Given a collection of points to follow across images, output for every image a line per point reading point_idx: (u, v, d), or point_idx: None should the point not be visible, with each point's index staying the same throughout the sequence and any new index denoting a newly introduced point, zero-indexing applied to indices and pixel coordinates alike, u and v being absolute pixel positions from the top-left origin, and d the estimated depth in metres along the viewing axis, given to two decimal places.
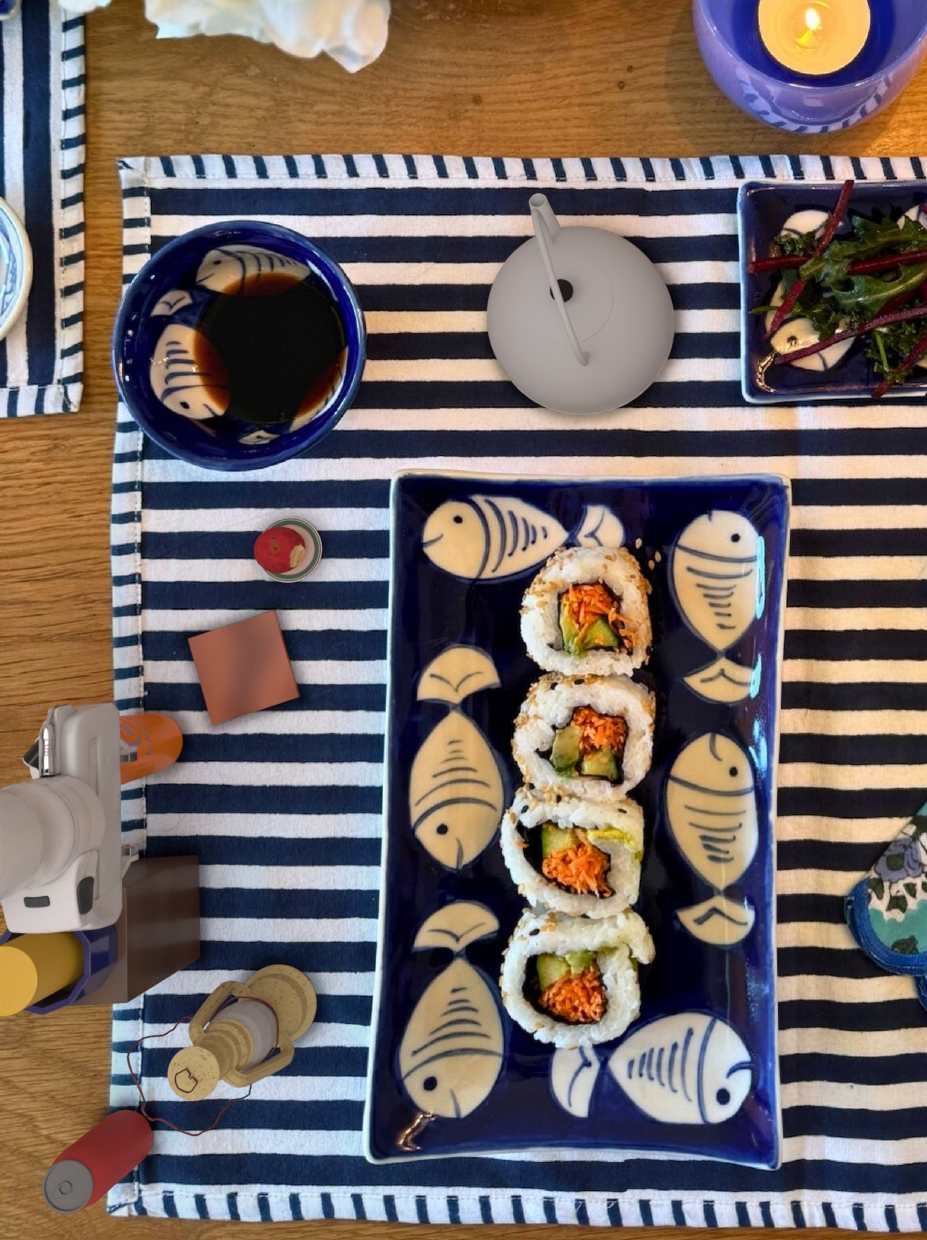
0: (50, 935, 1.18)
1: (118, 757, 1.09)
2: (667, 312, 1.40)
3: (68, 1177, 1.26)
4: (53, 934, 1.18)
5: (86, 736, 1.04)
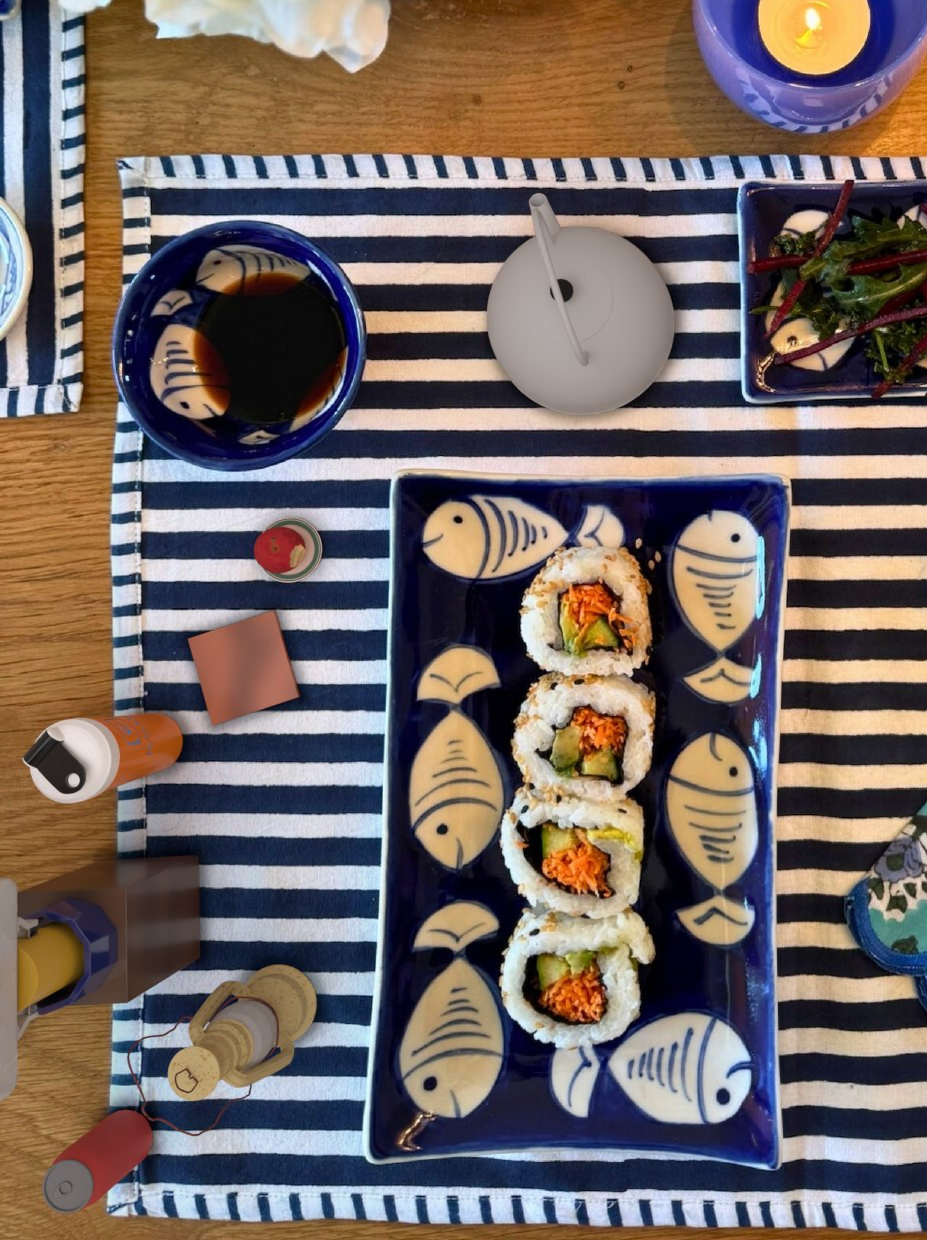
0: (50, 934, 1.18)
1: (15, 931, 1.12)
2: (667, 312, 1.40)
3: (68, 1177, 1.26)
4: (53, 934, 1.18)
5: None
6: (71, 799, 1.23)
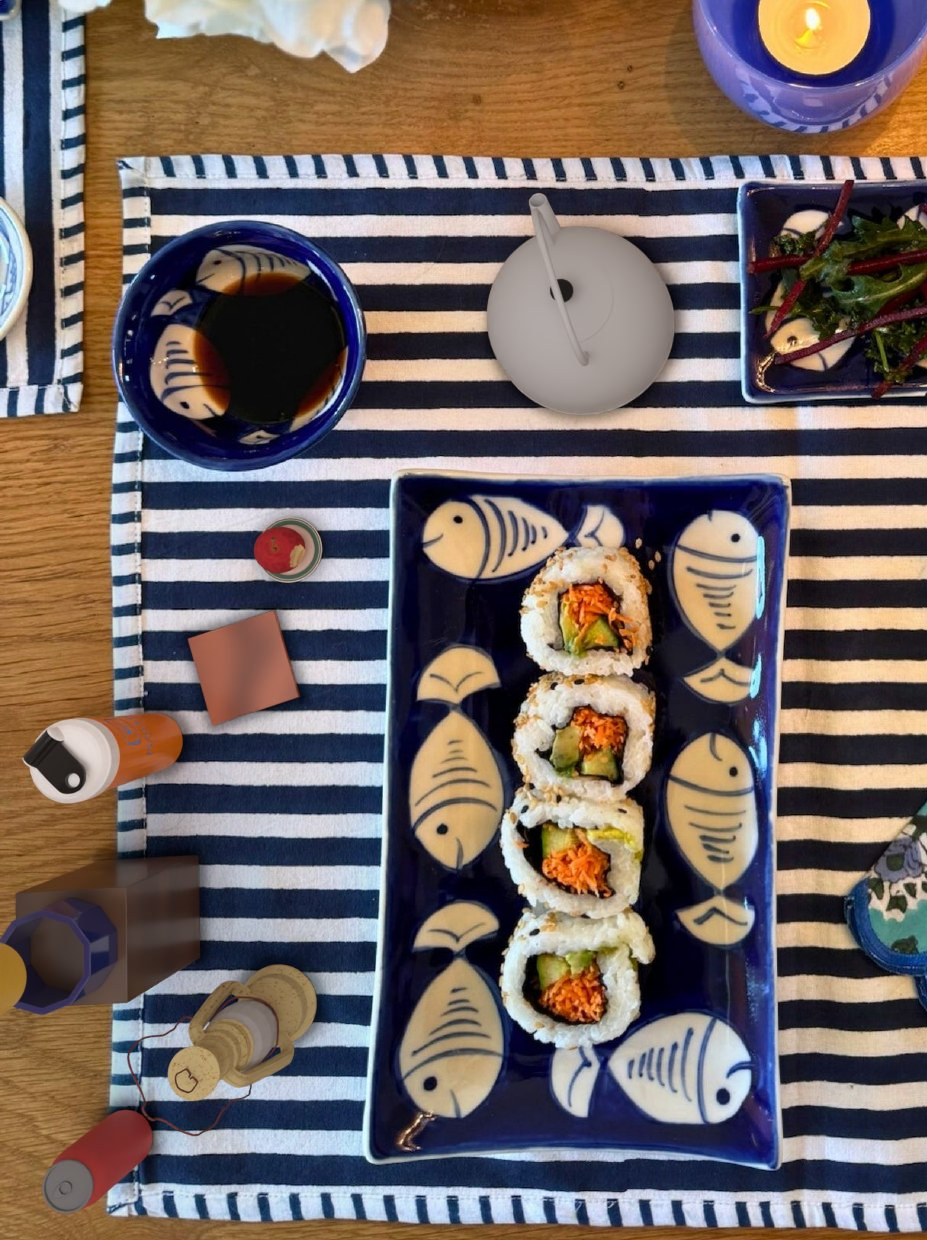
0: None
1: None
2: (667, 312, 1.40)
3: (68, 1177, 1.26)
4: None
5: None
6: (71, 799, 1.23)
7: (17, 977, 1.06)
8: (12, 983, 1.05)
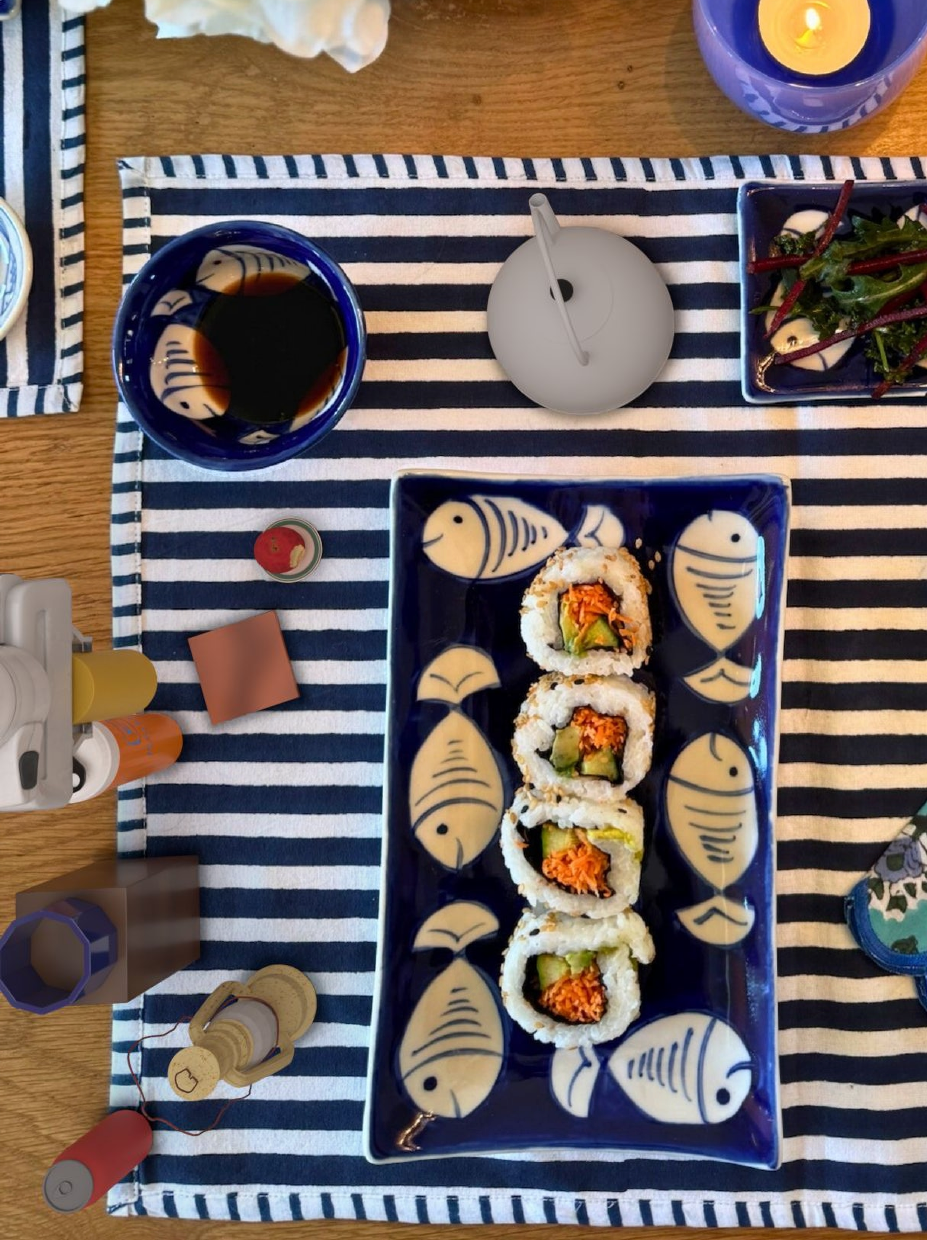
0: (105, 654, 1.09)
1: (69, 635, 1.04)
2: (667, 312, 1.40)
3: (68, 1177, 1.26)
4: (108, 654, 1.10)
5: (33, 607, 0.99)
6: (71, 799, 1.23)
7: (150, 677, 1.14)
8: (146, 680, 1.13)
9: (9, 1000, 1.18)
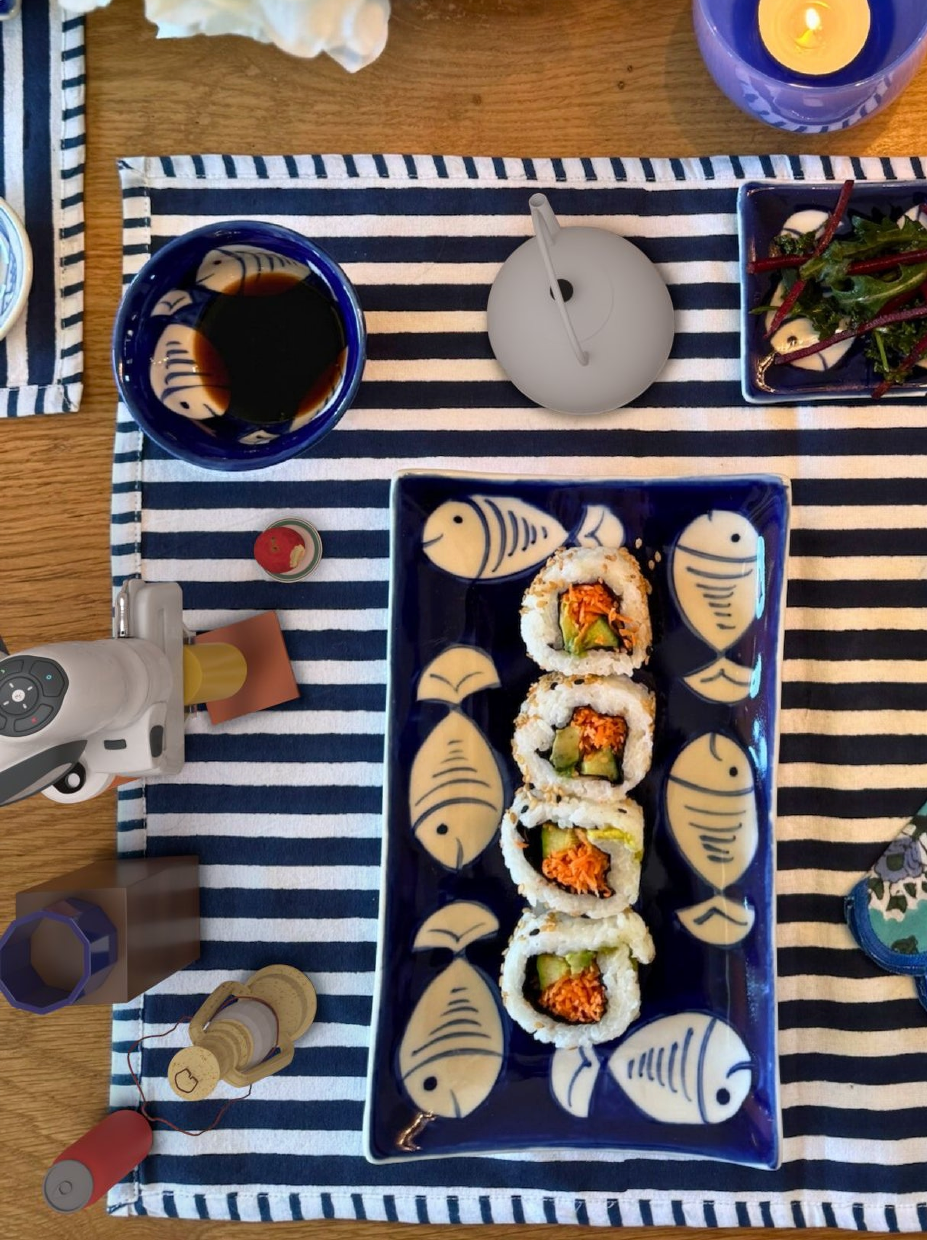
0: (206, 646, 1.29)
1: (181, 630, 1.23)
2: (667, 312, 1.40)
3: (68, 1177, 1.26)
4: (209, 646, 1.29)
5: (155, 606, 1.18)
6: (71, 799, 1.23)
7: (241, 666, 1.34)
8: (239, 669, 1.33)
9: (9, 1000, 1.18)
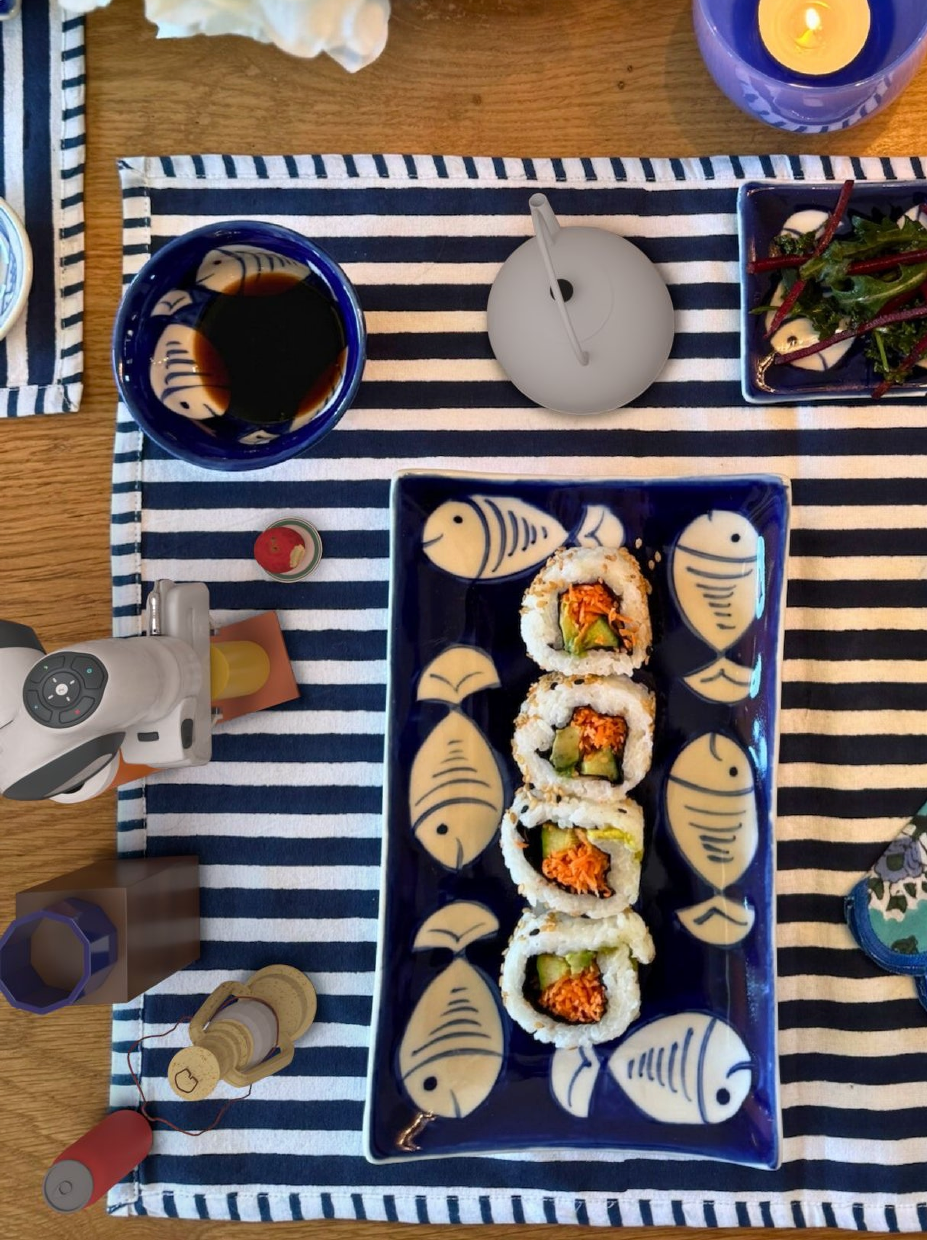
0: (232, 644, 1.35)
1: (208, 628, 1.29)
2: (667, 312, 1.40)
3: (68, 1177, 1.26)
4: (235, 645, 1.36)
5: (185, 605, 1.25)
6: (71, 799, 1.23)
7: (265, 663, 1.40)
8: (262, 666, 1.39)
9: (9, 1000, 1.18)
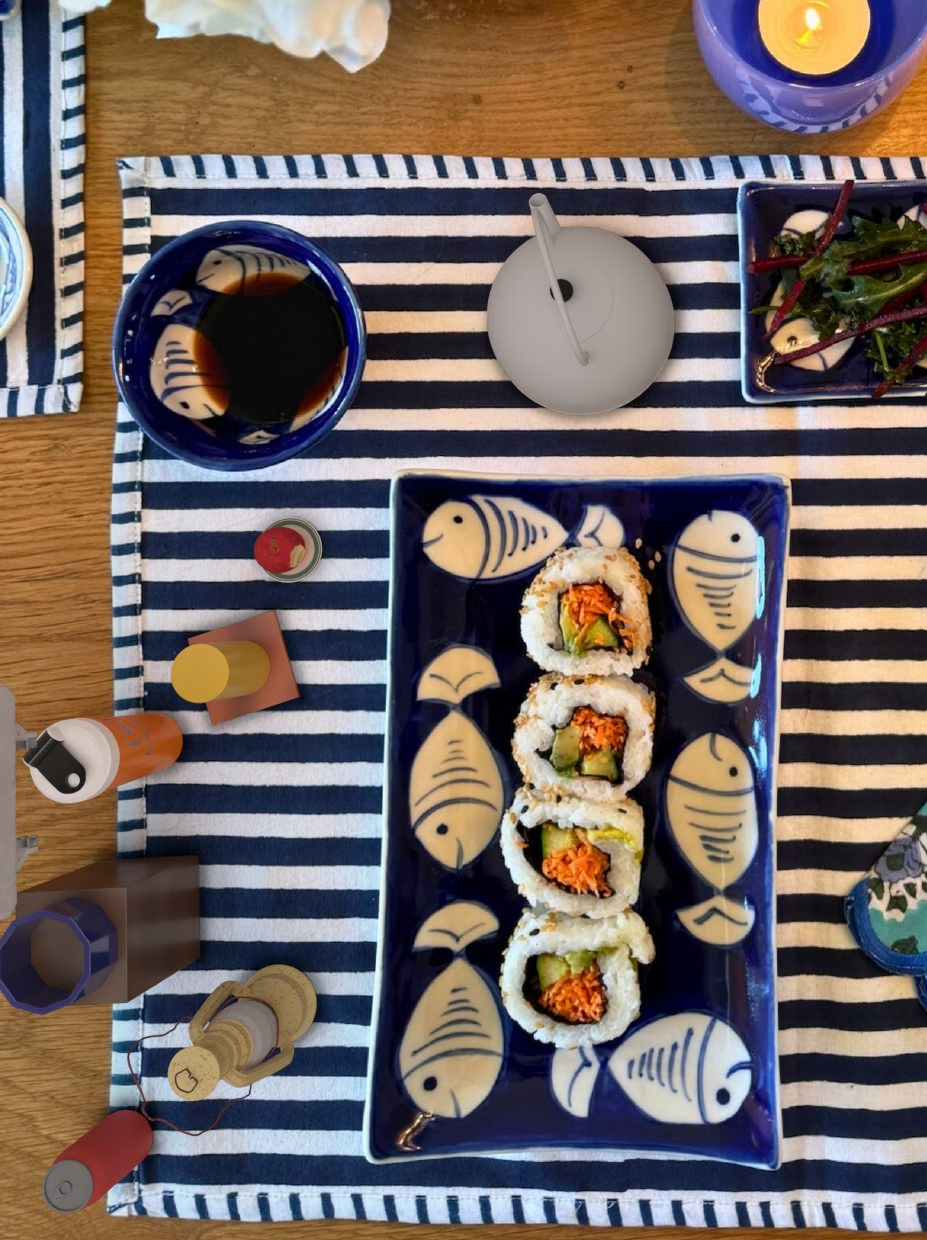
0: (232, 644, 1.35)
1: (13, 743, 1.03)
2: (667, 312, 1.40)
3: (68, 1177, 1.26)
4: (235, 645, 1.36)
5: None
6: (71, 799, 1.23)
7: (265, 663, 1.40)
8: (262, 666, 1.39)
9: (9, 1000, 1.18)
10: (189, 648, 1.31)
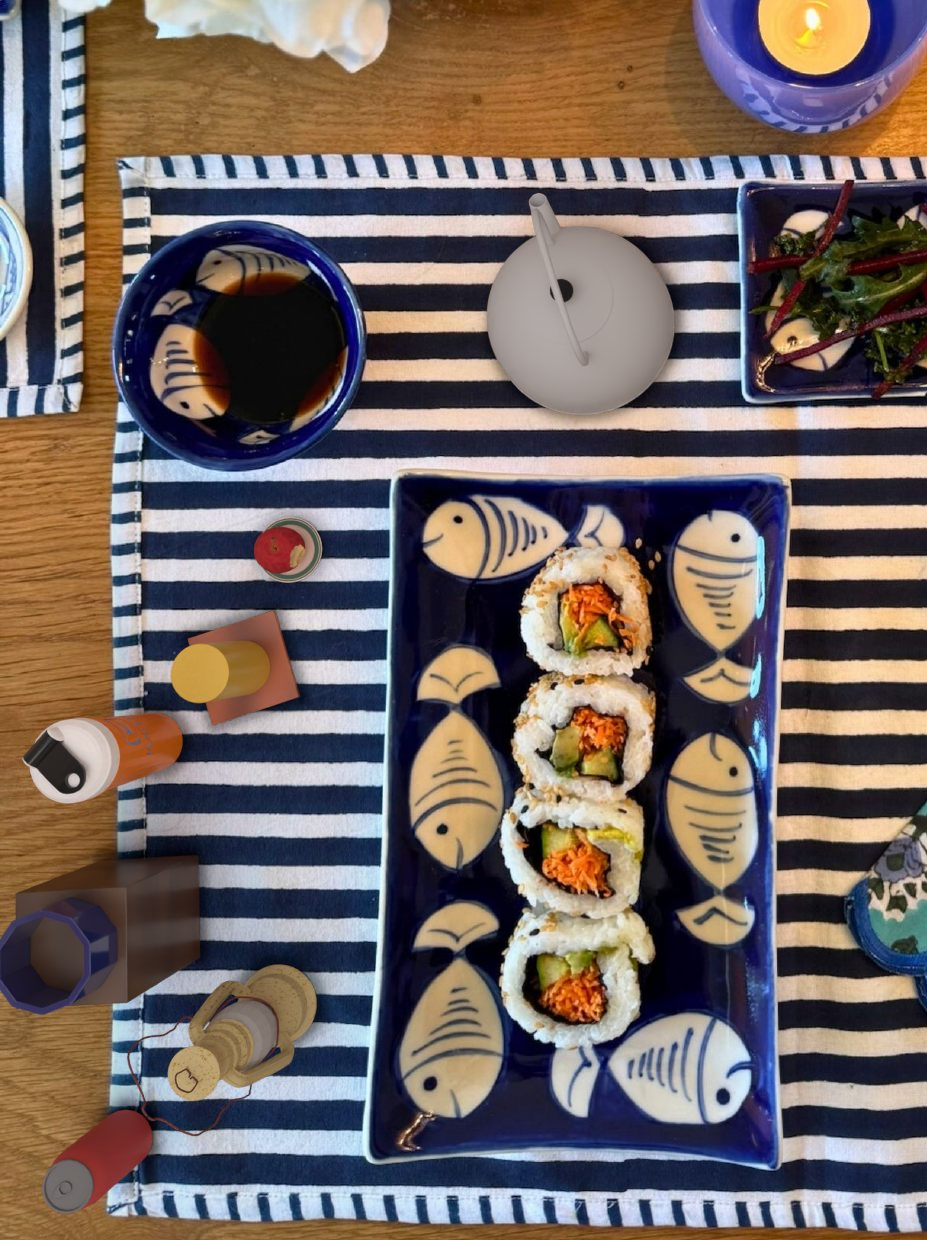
0: (232, 644, 1.35)
1: None
2: (667, 312, 1.40)
3: (68, 1177, 1.26)
4: (235, 645, 1.36)
5: None
6: (71, 799, 1.23)
7: (265, 663, 1.40)
8: (262, 666, 1.39)
9: (9, 1000, 1.18)
10: (189, 648, 1.31)
